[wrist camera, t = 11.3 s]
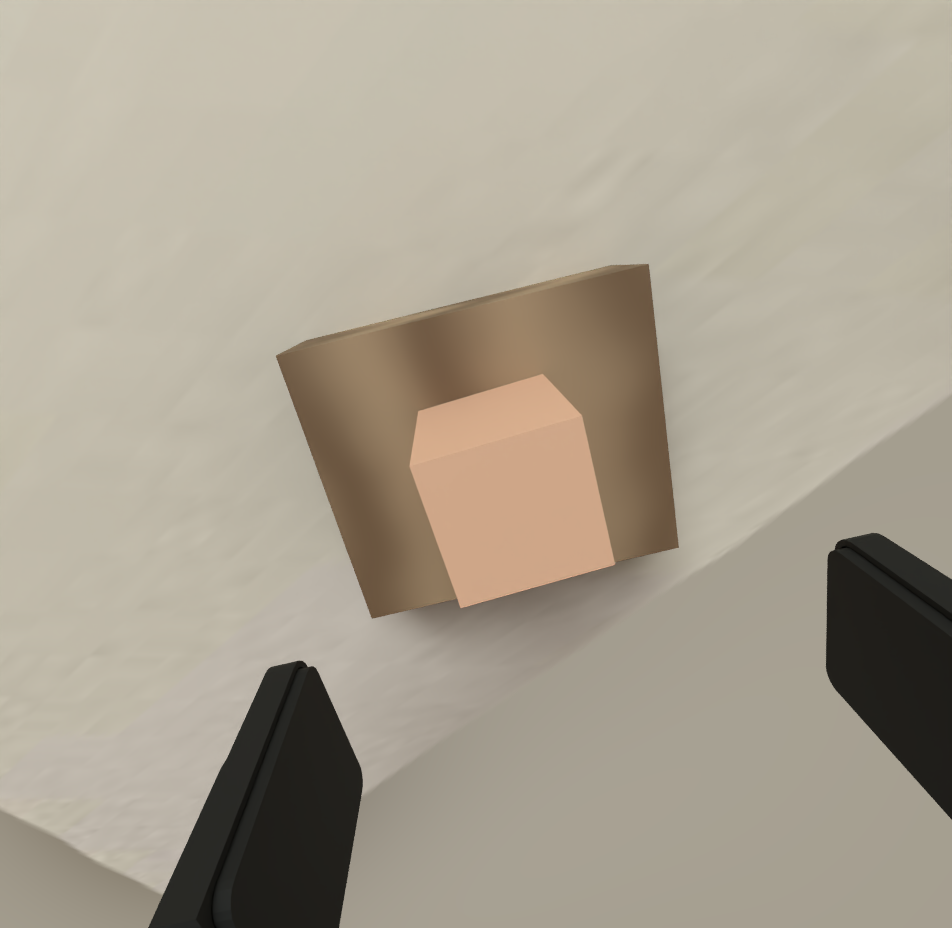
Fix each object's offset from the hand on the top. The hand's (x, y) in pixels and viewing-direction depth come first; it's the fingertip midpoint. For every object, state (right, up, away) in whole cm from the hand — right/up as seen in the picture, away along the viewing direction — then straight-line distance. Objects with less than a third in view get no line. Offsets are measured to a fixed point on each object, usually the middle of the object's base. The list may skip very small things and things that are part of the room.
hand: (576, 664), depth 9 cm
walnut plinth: (-1, +5, +16) cm, 17 cm away
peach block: (-1, +4, +12) cm, 12 cm away
